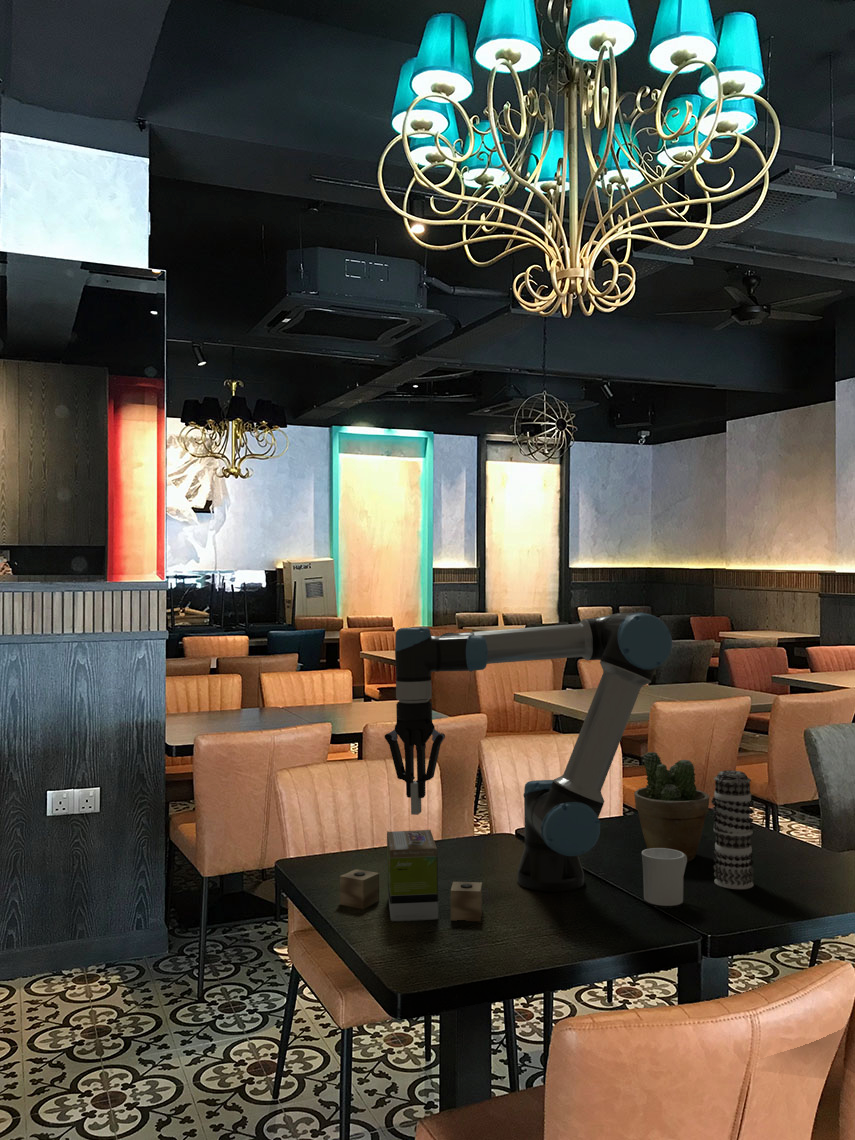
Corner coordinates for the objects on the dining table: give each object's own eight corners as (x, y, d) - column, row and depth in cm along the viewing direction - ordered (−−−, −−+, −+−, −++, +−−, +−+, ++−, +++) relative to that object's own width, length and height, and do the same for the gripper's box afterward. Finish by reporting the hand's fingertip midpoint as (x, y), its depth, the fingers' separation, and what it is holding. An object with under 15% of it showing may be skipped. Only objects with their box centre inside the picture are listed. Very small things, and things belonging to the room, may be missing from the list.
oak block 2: (482, 911, 194) (481, 881, 194) (480, 921, 188) (480, 890, 188) (453, 910, 195) (453, 880, 195) (450, 920, 189) (450, 889, 189)
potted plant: (719, 852, 238) (718, 753, 239) (698, 870, 223) (696, 764, 223) (649, 842, 248) (648, 747, 249) (624, 859, 232) (622, 758, 233)
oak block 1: (379, 901, 201) (379, 872, 201) (363, 909, 196) (363, 879, 196) (356, 896, 204) (356, 868, 204) (339, 904, 199) (339, 875, 199)
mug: (661, 911, 193) (660, 861, 194) (633, 899, 201) (632, 851, 202) (701, 903, 198) (700, 854, 199) (672, 892, 206) (671, 844, 207)
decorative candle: (710, 887, 210) (709, 774, 210) (714, 875, 218) (713, 767, 219) (753, 891, 206) (752, 777, 207) (756, 880, 215) (754, 770, 216)
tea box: (386, 898, 203) (386, 829, 203) (432, 897, 204) (432, 828, 204) (389, 922, 188) (389, 847, 188) (439, 920, 189) (439, 846, 189)
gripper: (448, 698, 200) (450, 810, 199) (390, 698, 203) (392, 808, 203) (439, 702, 193) (441, 818, 192) (379, 702, 196) (381, 816, 195)
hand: (416, 813), depth 197 cm, fingers closed
